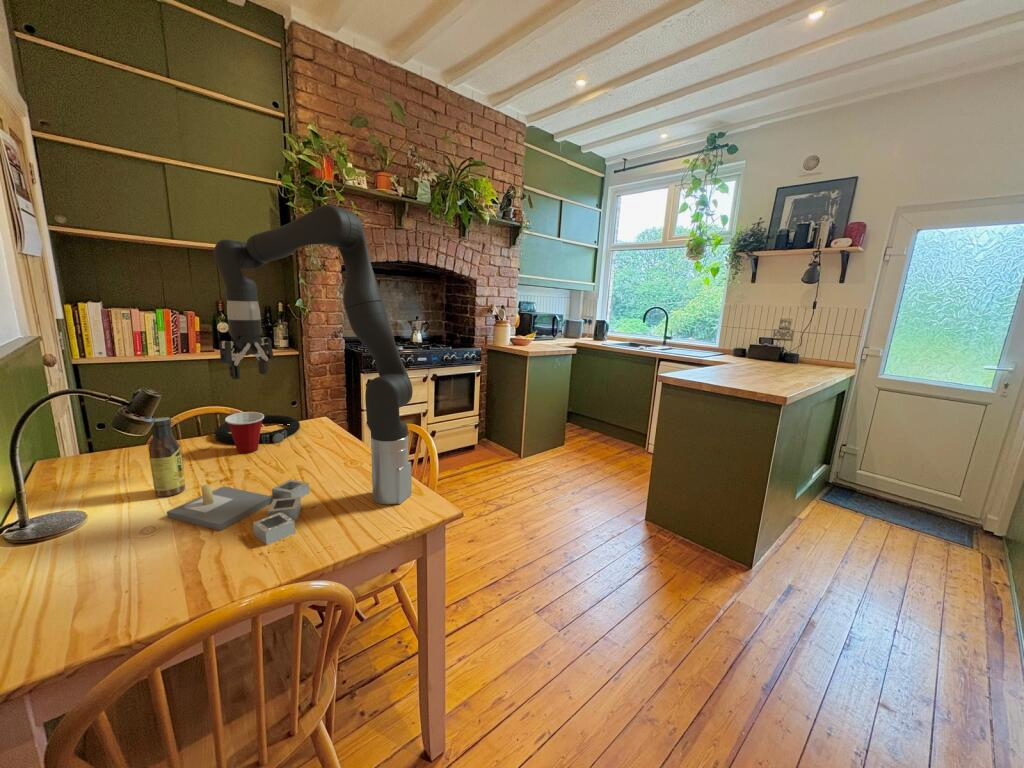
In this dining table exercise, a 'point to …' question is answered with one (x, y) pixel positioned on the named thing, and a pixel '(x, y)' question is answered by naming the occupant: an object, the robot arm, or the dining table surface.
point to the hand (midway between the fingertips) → (250, 376)
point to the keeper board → (219, 507)
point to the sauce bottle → (166, 459)
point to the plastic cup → (245, 430)
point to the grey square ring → (290, 489)
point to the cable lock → (273, 436)
